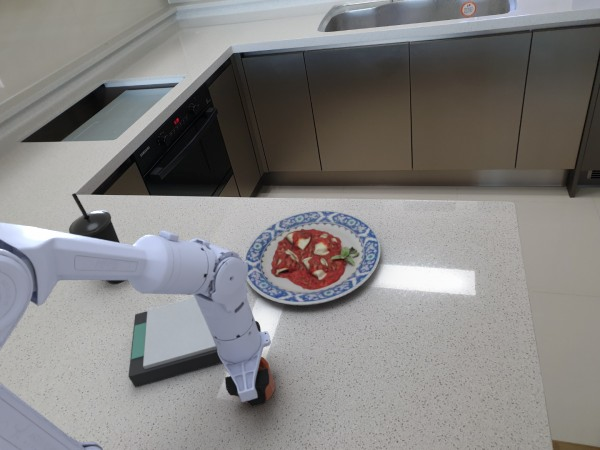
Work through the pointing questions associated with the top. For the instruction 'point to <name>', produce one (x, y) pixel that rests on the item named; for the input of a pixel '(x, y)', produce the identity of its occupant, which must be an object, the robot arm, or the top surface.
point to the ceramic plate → (312, 257)
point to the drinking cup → (94, 226)
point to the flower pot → (271, 385)
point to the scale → (170, 342)
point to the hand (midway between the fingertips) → (255, 384)
